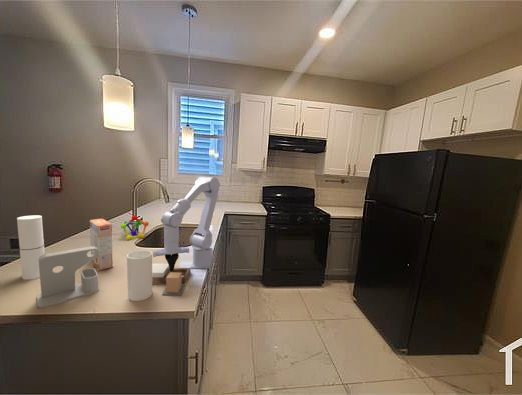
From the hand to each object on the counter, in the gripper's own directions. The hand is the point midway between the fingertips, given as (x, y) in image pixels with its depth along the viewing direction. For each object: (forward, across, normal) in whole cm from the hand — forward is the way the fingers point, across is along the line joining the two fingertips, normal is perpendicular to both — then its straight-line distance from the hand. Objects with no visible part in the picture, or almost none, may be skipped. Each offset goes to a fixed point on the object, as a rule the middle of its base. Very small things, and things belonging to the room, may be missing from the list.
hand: (171, 270), depth 101 cm
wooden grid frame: (+4, +2, -1) cm, 4 cm away
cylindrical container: (+4, +51, -23) cm, 56 cm away
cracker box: (+4, +28, -26) cm, 38 cm away
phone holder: (+4, +35, -1) cm, 35 cm away
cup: (+4, +12, +9) cm, 16 cm away
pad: (+4, 0, +11) cm, 11 cm away
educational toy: (+4, +15, -65) cm, 67 cm away
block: (+3, 0, +11) cm, 11 cm away
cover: (+1, +6, -3) cm, 7 cm away
